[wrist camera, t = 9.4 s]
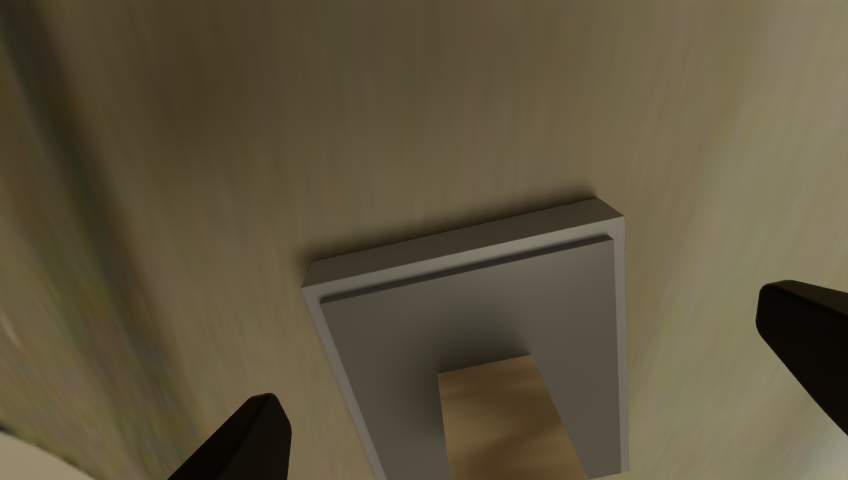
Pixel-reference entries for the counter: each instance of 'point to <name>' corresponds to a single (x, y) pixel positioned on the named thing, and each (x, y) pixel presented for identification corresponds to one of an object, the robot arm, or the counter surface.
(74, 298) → the counter surface
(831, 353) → the robot arm
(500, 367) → the oak block
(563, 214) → the plate
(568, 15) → the counter surface
